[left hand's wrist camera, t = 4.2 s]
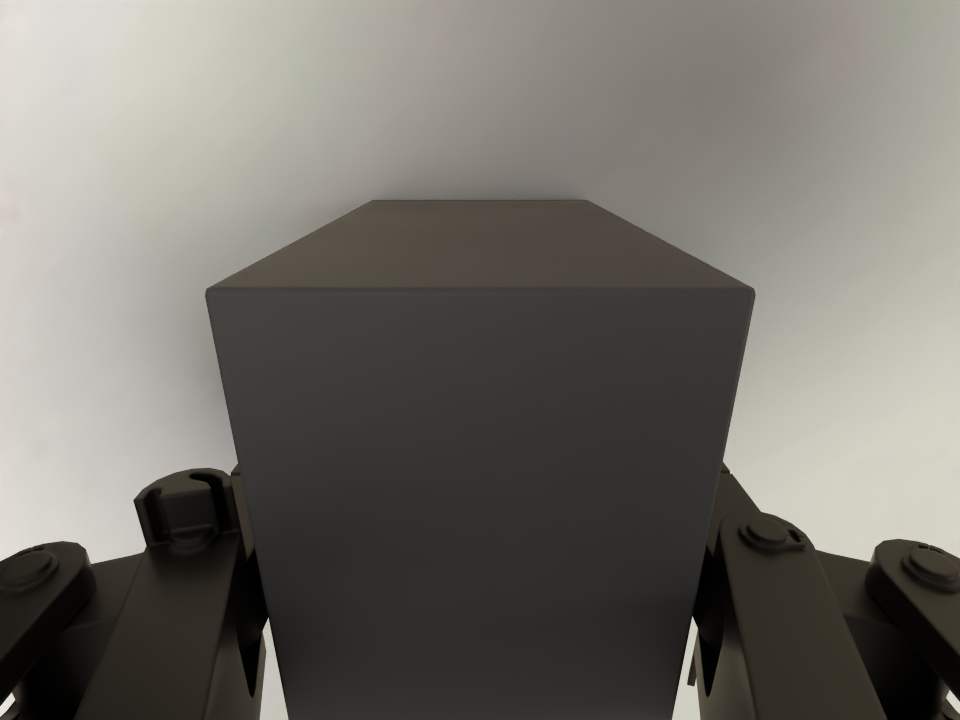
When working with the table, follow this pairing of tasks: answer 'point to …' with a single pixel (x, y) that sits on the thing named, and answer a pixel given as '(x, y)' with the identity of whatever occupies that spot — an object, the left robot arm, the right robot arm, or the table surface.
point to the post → (480, 456)
